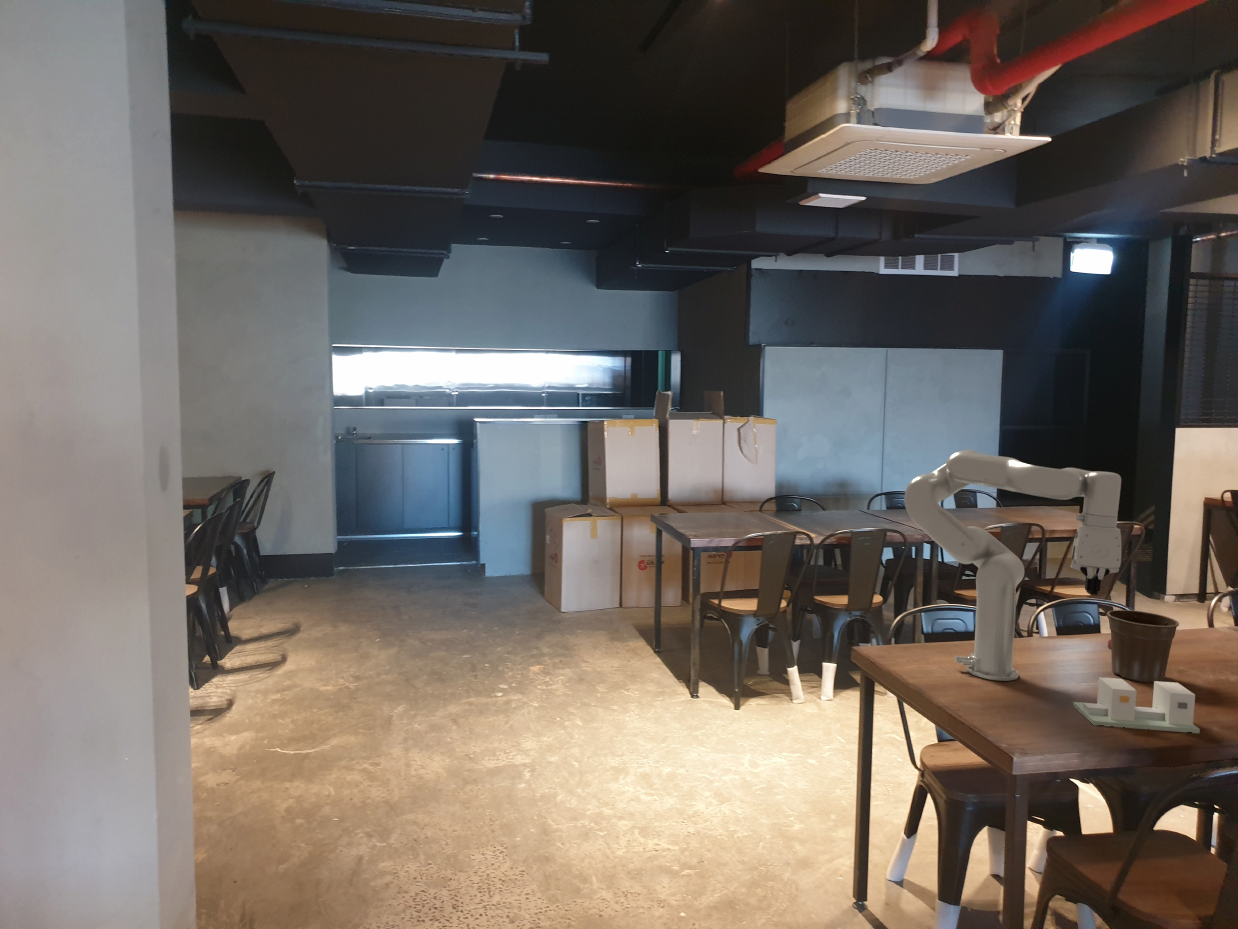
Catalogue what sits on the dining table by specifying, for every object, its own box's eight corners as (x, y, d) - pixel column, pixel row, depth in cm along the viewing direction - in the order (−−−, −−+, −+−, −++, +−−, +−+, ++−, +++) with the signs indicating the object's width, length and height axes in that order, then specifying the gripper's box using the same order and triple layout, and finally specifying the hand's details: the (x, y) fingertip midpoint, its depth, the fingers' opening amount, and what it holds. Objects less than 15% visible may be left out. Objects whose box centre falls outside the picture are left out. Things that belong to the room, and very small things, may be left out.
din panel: (1092, 725, 188) (1095, 690, 187) (1073, 706, 200) (1075, 673, 199) (1199, 733, 184) (1202, 698, 184) (1173, 713, 196) (1175, 680, 196)
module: (1111, 720, 189) (1113, 689, 188) (1096, 706, 197) (1098, 677, 197) (1135, 722, 188) (1137, 691, 187) (1119, 708, 196) (1121, 678, 196)
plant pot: (1168, 671, 227) (1172, 614, 226) (1180, 690, 212) (1184, 628, 211) (1100, 662, 234) (1104, 606, 232) (1107, 680, 219) (1111, 620, 218)
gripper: (1071, 521, 203) (1063, 594, 205) (1138, 526, 200) (1130, 600, 202) (1061, 516, 211) (1055, 587, 213) (1126, 521, 207) (1119, 593, 209)
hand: (1091, 593), depth 207 cm, fingers closed
